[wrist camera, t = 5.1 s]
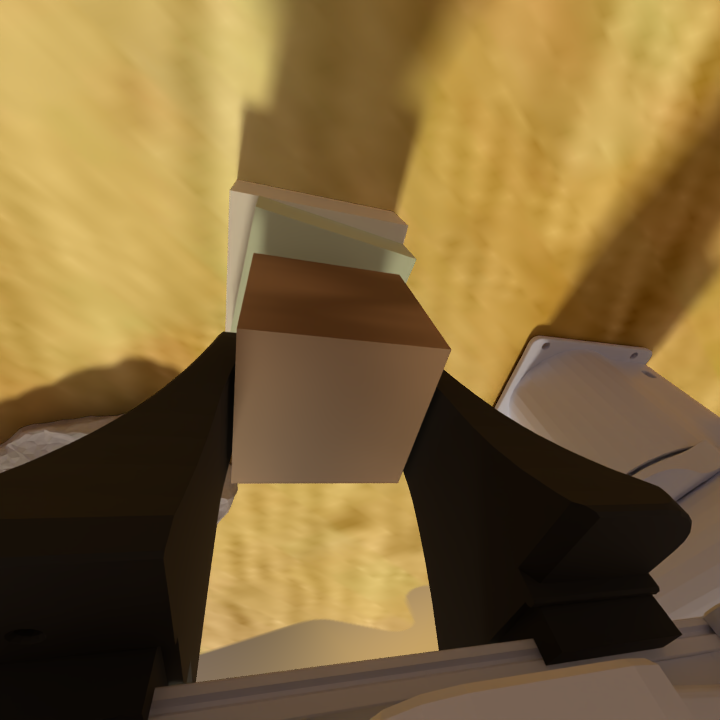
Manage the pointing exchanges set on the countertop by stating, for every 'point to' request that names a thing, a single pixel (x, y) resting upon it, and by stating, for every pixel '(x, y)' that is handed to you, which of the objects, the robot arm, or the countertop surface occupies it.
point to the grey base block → (336, 210)
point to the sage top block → (317, 244)
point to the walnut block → (329, 374)
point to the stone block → (60, 433)
